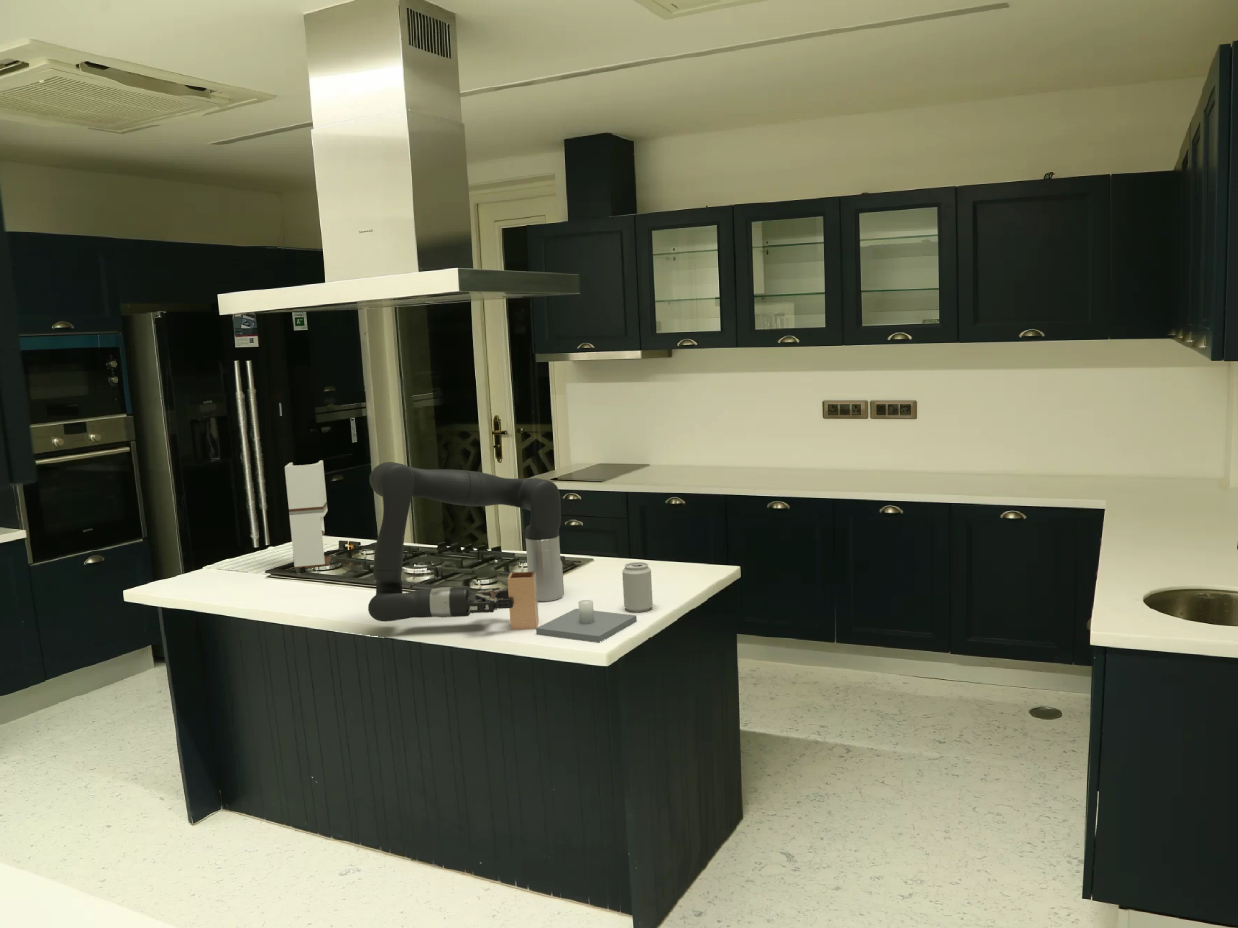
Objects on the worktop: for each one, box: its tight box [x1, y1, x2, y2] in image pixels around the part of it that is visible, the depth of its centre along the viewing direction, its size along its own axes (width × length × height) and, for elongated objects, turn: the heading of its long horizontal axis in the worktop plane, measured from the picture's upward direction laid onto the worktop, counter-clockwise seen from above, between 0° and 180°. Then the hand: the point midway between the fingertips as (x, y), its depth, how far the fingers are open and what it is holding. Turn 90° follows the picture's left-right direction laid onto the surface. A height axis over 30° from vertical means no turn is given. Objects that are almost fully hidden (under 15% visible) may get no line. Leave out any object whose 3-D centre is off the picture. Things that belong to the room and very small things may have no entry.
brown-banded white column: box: [284, 460, 333, 570], centre depth 322 cm, size 11×11×35 cm
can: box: [621, 561, 654, 613], centre depth 254 cm, size 8×8×12 cm
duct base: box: [535, 599, 637, 643], centre depth 240 cm, size 18×18×6 cm
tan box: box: [507, 571, 540, 631], centre depth 244 cm, size 6×6×13 cm
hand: (514, 598), depth 244 cm, fingers open, 8 cm apart
